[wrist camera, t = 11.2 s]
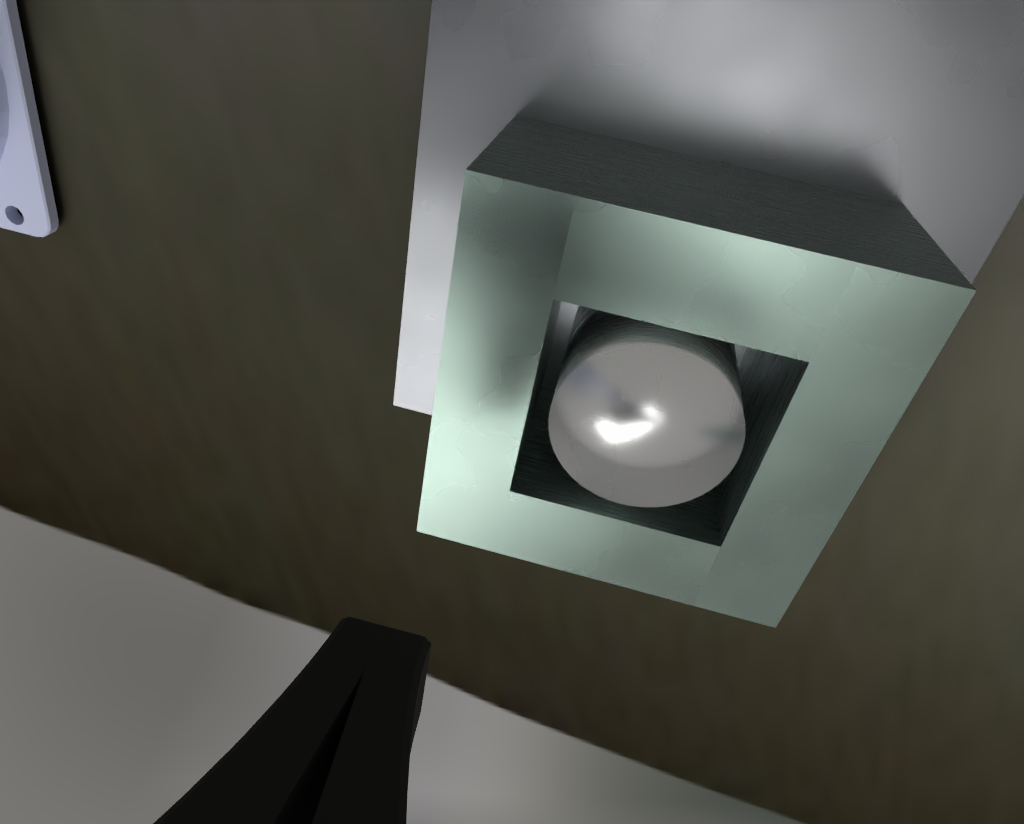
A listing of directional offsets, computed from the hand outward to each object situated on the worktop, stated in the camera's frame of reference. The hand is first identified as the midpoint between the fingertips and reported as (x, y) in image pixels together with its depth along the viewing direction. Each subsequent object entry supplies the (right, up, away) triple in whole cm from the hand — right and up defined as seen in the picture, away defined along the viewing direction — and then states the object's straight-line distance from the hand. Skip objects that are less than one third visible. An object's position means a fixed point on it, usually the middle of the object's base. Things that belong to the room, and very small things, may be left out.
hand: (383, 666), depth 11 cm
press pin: (+5, +6, +5) cm, 9 cm away
